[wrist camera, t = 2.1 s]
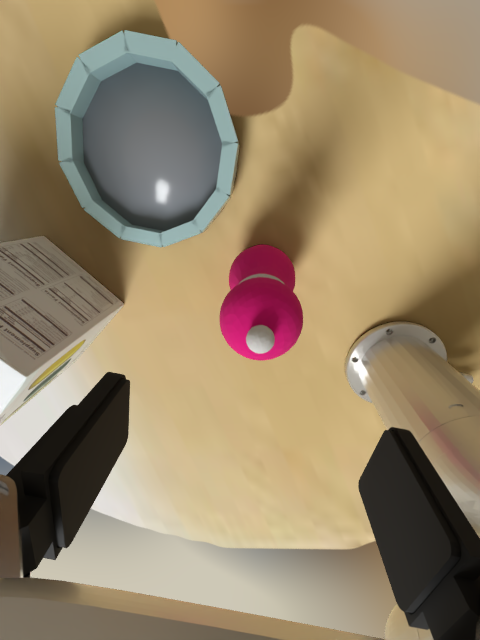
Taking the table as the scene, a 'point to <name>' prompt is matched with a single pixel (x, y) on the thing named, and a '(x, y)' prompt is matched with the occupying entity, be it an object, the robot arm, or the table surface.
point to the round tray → (146, 139)
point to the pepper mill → (261, 304)
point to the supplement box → (44, 317)
